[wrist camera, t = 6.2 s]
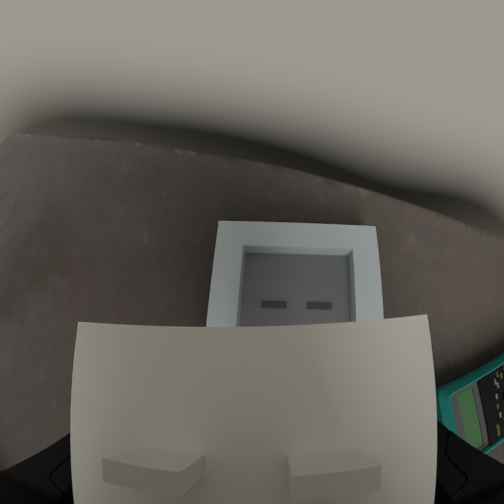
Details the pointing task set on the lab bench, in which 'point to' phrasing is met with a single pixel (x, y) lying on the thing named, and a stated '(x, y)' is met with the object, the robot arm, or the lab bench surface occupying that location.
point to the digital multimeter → (475, 405)
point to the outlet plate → (294, 274)
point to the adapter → (254, 414)
